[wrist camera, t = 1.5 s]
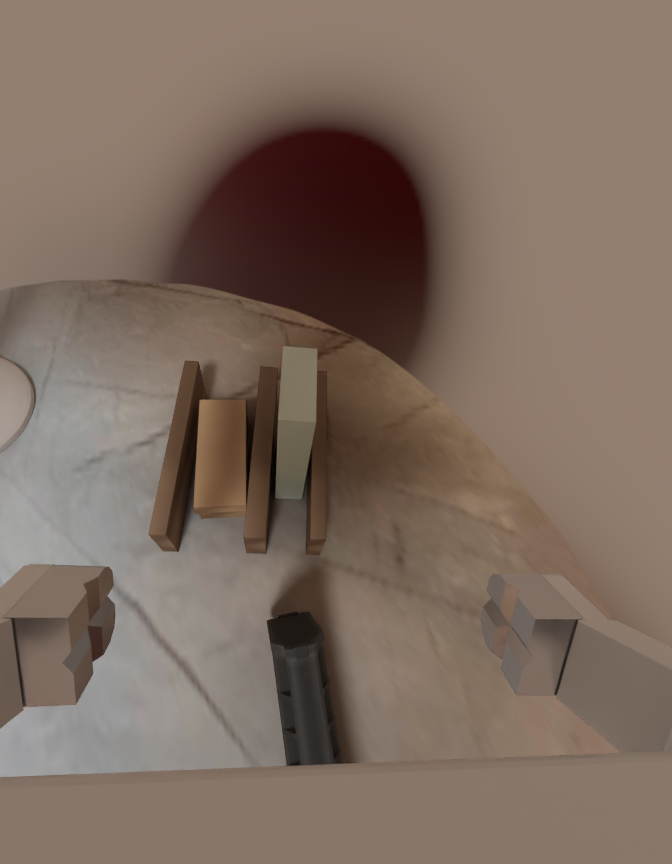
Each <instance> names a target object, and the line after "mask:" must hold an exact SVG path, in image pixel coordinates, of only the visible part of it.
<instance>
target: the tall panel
mask: <svg viewBox="0 0 672 864" xmlns="http://www.w3.org/2000/svg"><path fill="white" fill-rule="evenodd" d="M316 398H317V349H313V348H301V347H289V346H283V354H282V368H281V383H280V398H279V412H278V434H277V463H276V493H275V498H280V499H302V495H303V489H304V484H305V479H306V473H307V468H308V463H309V457H310V452H311V447H312V441H313V436H314V431H315V425H316Z"/></svg>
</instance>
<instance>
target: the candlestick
mask: <svg viewBox="0 0 672 864" xmlns="http://www.w3.org/2000/svg"><path fill="white" fill-rule="evenodd" d="M33 408H34V391H33V387H32V385H31V383H30V381H29V379H28V378H27V376H26V375H25V374H24V373H23V372H22V370H20V369H19V368H18V367H17V366H16V365H14V364H13V363H11V362H9V361H7V360H6V359H3V358H1V357H0V453H1V452H2V451H4V450H5V449H6V448H7V447H9V446H10V445H11V444H12V443H13V442H14V441H15V440H16V439H17V438H18V437H19V435H20V434H21V433H22V432H23V430H24V429H25V427H26V426H27V424H28V422H29V420H30V418H31V415H32V412H33Z"/></svg>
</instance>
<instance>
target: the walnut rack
mask: <svg viewBox="0 0 672 864" xmlns="http://www.w3.org/2000/svg"><path fill="white" fill-rule="evenodd" d="M277 379H278V368H276V367H263V366H260V376H259V386H258V396H257V406H256V417H255V427H254V437H253V447H252V457H251V467H250V477H249V487H248V497H247V507H246V518H245V528H244V542H245V547H246V552H247V553H262V554H266V543H267V530H268V516H269V502H270V488H271V474H272V460H273V446H274V432H275V418H276V404H277ZM205 393H206V392H205V388H204V383H203V379H202V375H201V370H200V366H199V362H198V361H185V362H184V367H183V372H182V377H181V381H180V386H179V391H178V396H177V401H176V405H175V410H174V415H173V420H172V424H171V429H170V434H169V439H168V443H167V448H166V453H165V458H164V462H163V467H162V472H161V477H160V481H159V486H158V491H157V496H156V500H155V505H154V510H153V515H152V520H151V524H150V529H149V536H150V537H151V538H152V539H153V540H154V541H155V542H156V543H157V545H158V546H159V547H160V548H161V549H162V550H163V551H178V550H179V544H180V538H181V533H182V527H183V521H184V515H185V509H186V504H187V498H188V492H189V486H190V480H191V474H192V469H193V463H194V457H195V451H196V445H197V437H198V420H199V403H200V400H204V399H205ZM326 428H327V371H317V398H316V425H315V431H314V436H313V441H312V447H311V452H310V457H309V463H308V485H307V522H306V555H320V553H321V550H322V548H323V546H324V543H325V541H326Z"/></svg>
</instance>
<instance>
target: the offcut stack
mask: <svg viewBox="0 0 672 864" xmlns="http://www.w3.org/2000/svg"><path fill="white" fill-rule="evenodd" d="M247 497H248V417H247V401H246V399H218V400H200V403H199V420H198V437H197V454H196V472H195V489H194V506H193V508H194V510H195V512H196V514H200V517H201V519H203V518H221V517H238V516H246V507H247Z"/></svg>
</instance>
